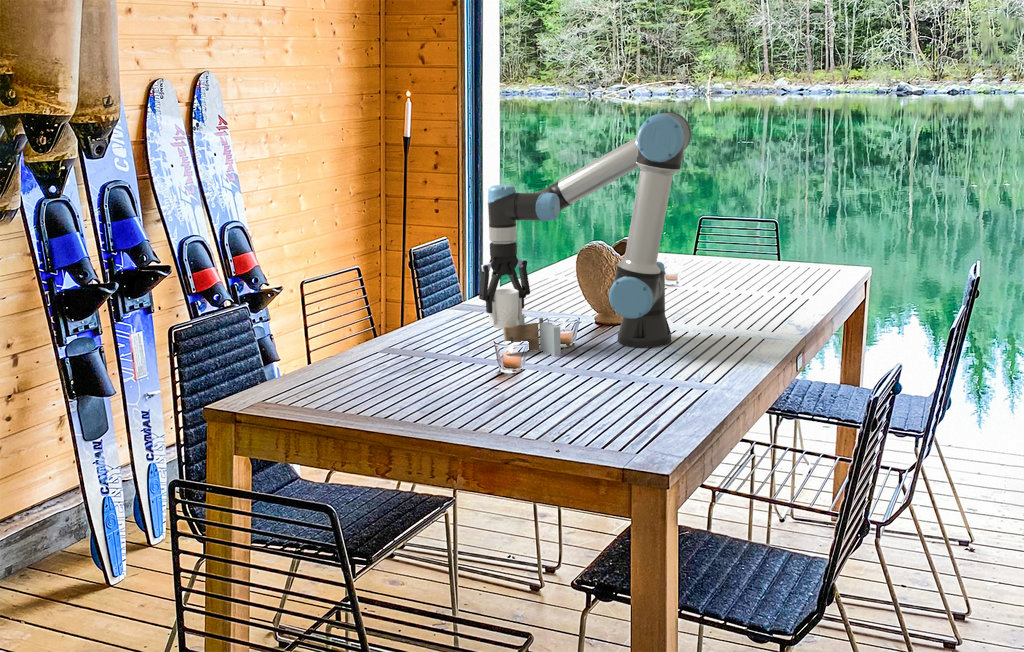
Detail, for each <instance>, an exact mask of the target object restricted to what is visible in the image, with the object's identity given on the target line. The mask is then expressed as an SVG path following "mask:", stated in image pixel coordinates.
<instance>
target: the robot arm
mask: <svg viewBox="0 0 1024 652" xmlns="http://www.w3.org/2000/svg"><path fill="white" fill-rule="evenodd" d="M638 129H639V130H638V131H637V132H636V135H635V137H634V138H633V139H631V140H628V141H626V142H625V143H623V144H622V145H620V146H618V147H617V148H614V149H612V150H611V151H609V152H607V153H606V154H604V155H602V156H600V157H598V158H597V159H595V160H593V161H592V162H589V163H588V164H585V166H583V167H581V168H578V169H577V170H575V171H574V172H572V173H570V174H569V175H566V176H564V177H563V178H561V179H559V180H558V181H556V182H554V183H552V184H550V185H549V186H547V187H545V188H543V189H541V190H538V191H536V192H517V190H516V187H515V185H512V184H499V185H498V184H497V185H496V184H495V185H492V186H490V187H489V188H488V194H487V195H488V196H487V201H488V202H487V209H488V210H487V211H488V229H489V230H488V233H489V241H490V243H489V257H490V259H489V262H488V263H486V264H485V263H481V264H480V266H479V267H480V268H479V269H480V271H481V274H480V284H479V285H480V286H479V294H478V298H479V300H481V301H484V302H485V311H486V313H487V314H488V323H489V324H490V325H492V326H494V325H496V307H495V302H494V301H493V298H494V295H495V292H496V290H497V288H498V286H499V282H500V280H501V278H502V277H504V276H506V275H507V276H508V277H509V280H510V281H511V284H512V287H513V289H515V290H518V291H519V308H518V310H519V312H518V321H522V314H523V309H525V298H527V296H528V295H530V294H531V288H530V281H529V276H528V272H527V271H528V269H527V268H528V261H527V260H525V259H519V258H518V257H517V254H518V243H517V242H516V240H517V239H518V236H517V221H532V222H533V221H535V222H537V221H538V222H540V221H541V222H549V221H556V220H557V219H558V218H559V215H560V212H561V211H563V210H564V209H566V208H568V207H569V206H570V205H572V204H575V203H576V202H578V201H580V200H582V199H584V198H585V197H587V196H589V195H591V194H593V193H595V192H596V191H598V190H600V189H602V188H604V187H606V186H608V185H610V184H611V183H613V182H615V181H617V180H618V179H620V178H622V177H624V176H626V175H627V174H630V173H632V172H633V171H635V170H637V169H638V168H639V170H640V171H639V176H638V180H637V181H638V182H637V187H636V193H635V199H634V202H633V209H632V215H631V219H630V220H631V221H630V226H629V229H628V230H629V231H628V235H627V236H628V237H627V241H626V246H625V247H626V248H625V252H624V253H625V254H624V257H623V258H622V259H621V260H620V261H618V262H617V265H616V270H615V275H614V276H615V277H614V282H613V283H612V284H611V286H610V289H609V292H608V300H609V304H610V306H611V308H612V310H614V312H615V313H616V314H618V315H619V316H621V317H622V320H621V322H620V325H619V326H620V327H619V330H618V332H617V343H618V344H619V345H621V346H625V347H630V348H642V349H643V348H645V349H646V348H656V347H663V346H667V345H669V344H671V343H672V331H671V329H670V325H669V323H668V319H667V317H666V288H665V287H666V284H665V282H666V279H665V278H666V277H665V276H666V271H665V270H666V268H665V264H664V263H663V262H661V261H658V256H659V252H660V247H661V246H660V245H661V241H662V237H663V230H664V224H665V219H666V213H667V208H668V203H669V197H670V193H671V187H672V183H673V178H674V175H675V174H676V173H678V172H679V171H681V167H682V161H683V156H684V152H685V150H686V149H687V148H688V146H689V144H690V142H691V139H692V128H691V126H690V123H689V121H688V120H687V119H686V118H685V117H684V116H683V115H681V114H680V113H678V112H673V111H668V112H663V113H662V112H661V113H656V114H654V115H651V116H649V117H647V119H646V120H645V121H643V123H642V124H641V125H640V127H639V128H638ZM516 267H518V272H519V273H518V274H519V277H518V274H517V271H516ZM491 269H492V273H491V279H490V271H491ZM519 279H520V281H519ZM489 280H490V282H489Z"/></svg>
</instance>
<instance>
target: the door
mask: <svg viewBox="0 0 1024 652" xmlns="http://www.w3.org/2000/svg"><path fill="white" fill-rule="evenodd" d="M503 337H504V342H505V341H511V342H521V341H528V342H529V351H528V352H533V351H539V350H540V327H539V322H531V323H525V324H524V325H517V326H510V327H504V336H503Z"/></svg>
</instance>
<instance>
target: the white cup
mask: <svg viewBox="0 0 1024 652" xmlns="http://www.w3.org/2000/svg"><path fill="white" fill-rule="evenodd" d="M493 301H494V302H495V307H496V325H493V327H494V328H496V329H500V330H501V329H502V330H503V329H504V327H510V326H517V325H518V312H519V310H518V308H519V291H518V290H515V289H514V288H499V289H496V292H495V295H494V298H493Z"/></svg>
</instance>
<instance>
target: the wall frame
mask: <svg viewBox="0 0 1024 652" xmlns="http://www.w3.org/2000/svg"><path fill="white" fill-rule="evenodd" d="M538 321H539V322H538V325H539V350H540V349H541V350H540V352H542V351H543V353H545V352H546V353H545V354H547V353H548V354H547V355H550V354H551V355H550V356H552V355H553V356H552V357H559V356H558V355H560V356H561V355H562V353H561V352H562V351H561V350H562V349H561V348H562V347H561V343H562V342H561V326H558V325H556V324H553V323H550V322H547V321H544V318H543V317H540V318H538ZM524 324H526V322H525V313H522V321H518V325H524ZM503 333H504V329H502V334H503Z"/></svg>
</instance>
